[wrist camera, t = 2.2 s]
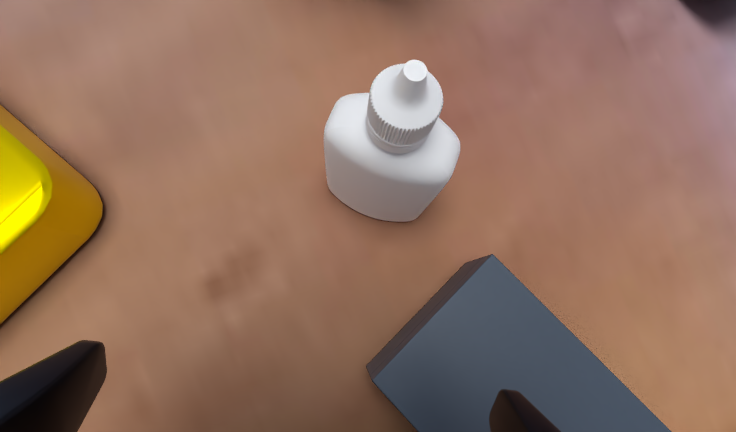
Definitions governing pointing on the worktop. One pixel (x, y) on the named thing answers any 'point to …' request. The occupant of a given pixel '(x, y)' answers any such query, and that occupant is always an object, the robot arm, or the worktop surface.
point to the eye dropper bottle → (390, 145)
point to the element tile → (38, 212)
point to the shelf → (499, 361)
